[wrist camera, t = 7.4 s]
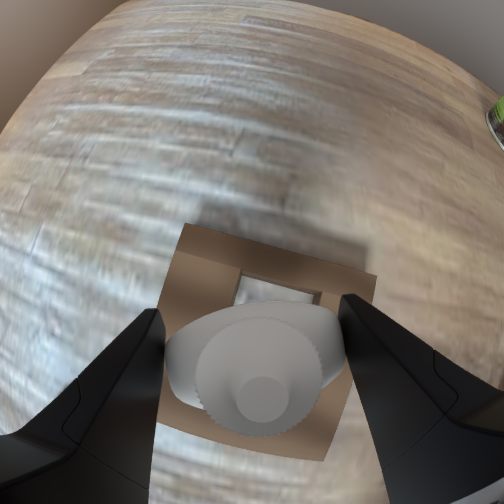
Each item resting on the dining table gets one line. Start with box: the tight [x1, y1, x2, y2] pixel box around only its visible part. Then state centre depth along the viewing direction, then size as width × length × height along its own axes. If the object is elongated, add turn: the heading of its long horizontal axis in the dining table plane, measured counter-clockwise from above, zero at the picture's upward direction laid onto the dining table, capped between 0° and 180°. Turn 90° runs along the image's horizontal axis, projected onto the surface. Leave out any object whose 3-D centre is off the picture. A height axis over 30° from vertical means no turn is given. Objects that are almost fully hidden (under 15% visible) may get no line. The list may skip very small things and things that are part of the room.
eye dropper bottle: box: [164, 301, 346, 438], centre depth 9 cm, size 4×6×12 cm
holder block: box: [156, 223, 377, 461], centre depth 19 cm, size 15×15×2 cm
